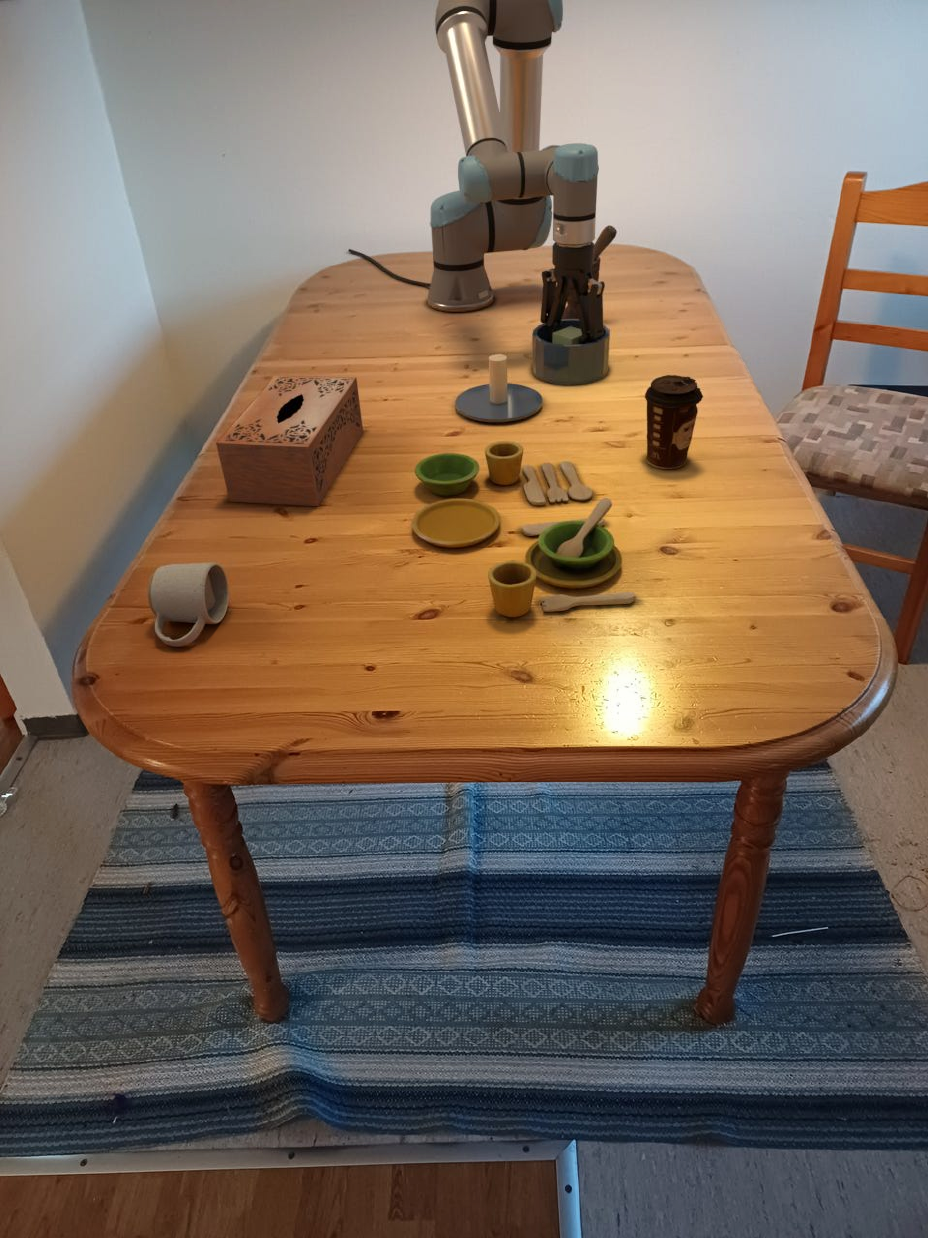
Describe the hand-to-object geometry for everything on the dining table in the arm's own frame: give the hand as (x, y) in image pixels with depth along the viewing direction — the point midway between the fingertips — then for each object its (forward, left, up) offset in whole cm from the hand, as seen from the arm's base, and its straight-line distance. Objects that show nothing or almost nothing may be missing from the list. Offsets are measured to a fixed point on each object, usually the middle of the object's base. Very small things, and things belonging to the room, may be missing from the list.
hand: (570, 365), depth 174 cm
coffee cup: (+37, -17, -1) cm, 41 cm away
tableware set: (+35, -50, -1) cm, 61 cm away
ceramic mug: (+21, -93, -1) cm, 95 cm away
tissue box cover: (-6, -59, -1) cm, 59 cm away
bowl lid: (+2, -21, 0) cm, 21 cm away
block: (0, 0, 0) cm, 0 cm away
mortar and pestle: (-17, +23, -1) cm, 29 cm away
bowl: (0, 0, -1) cm, 1 cm away
